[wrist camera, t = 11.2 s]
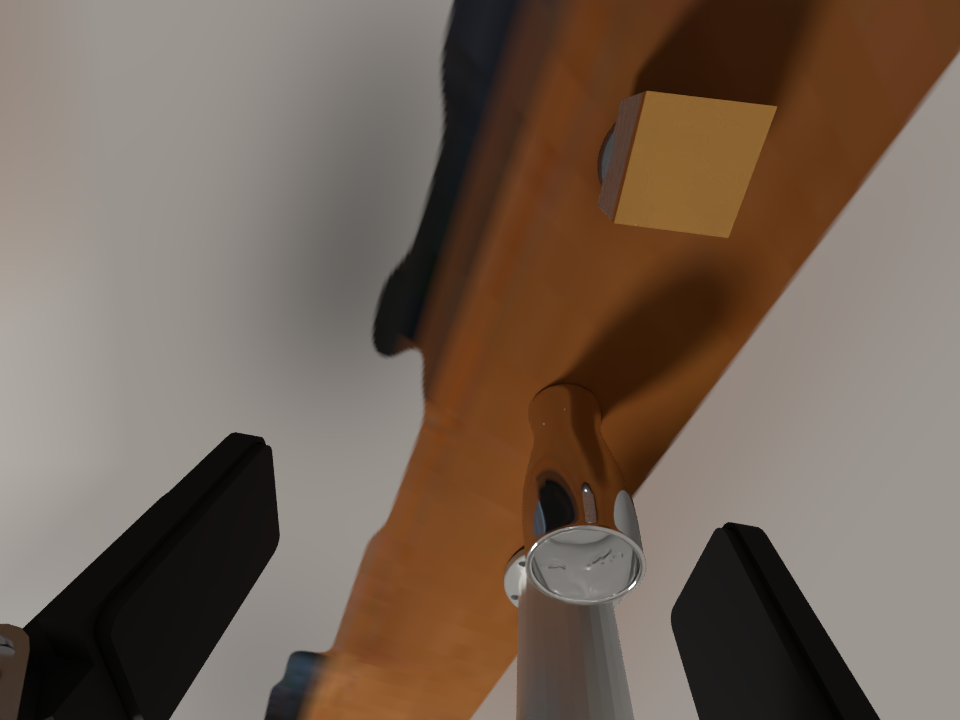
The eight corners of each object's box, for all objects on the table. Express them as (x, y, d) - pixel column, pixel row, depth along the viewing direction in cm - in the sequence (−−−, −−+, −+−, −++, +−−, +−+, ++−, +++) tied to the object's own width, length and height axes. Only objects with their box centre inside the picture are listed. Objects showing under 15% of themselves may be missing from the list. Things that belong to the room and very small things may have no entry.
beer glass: (623, 407, 36) (678, 565, 23) (569, 458, 39) (590, 623, 26) (558, 363, 35) (577, 503, 22) (507, 418, 38) (496, 571, 25)
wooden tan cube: (723, 112, 25) (777, 106, 19) (689, 217, 27) (728, 237, 22) (621, 100, 25) (646, 90, 19) (597, 206, 28) (614, 223, 22)
